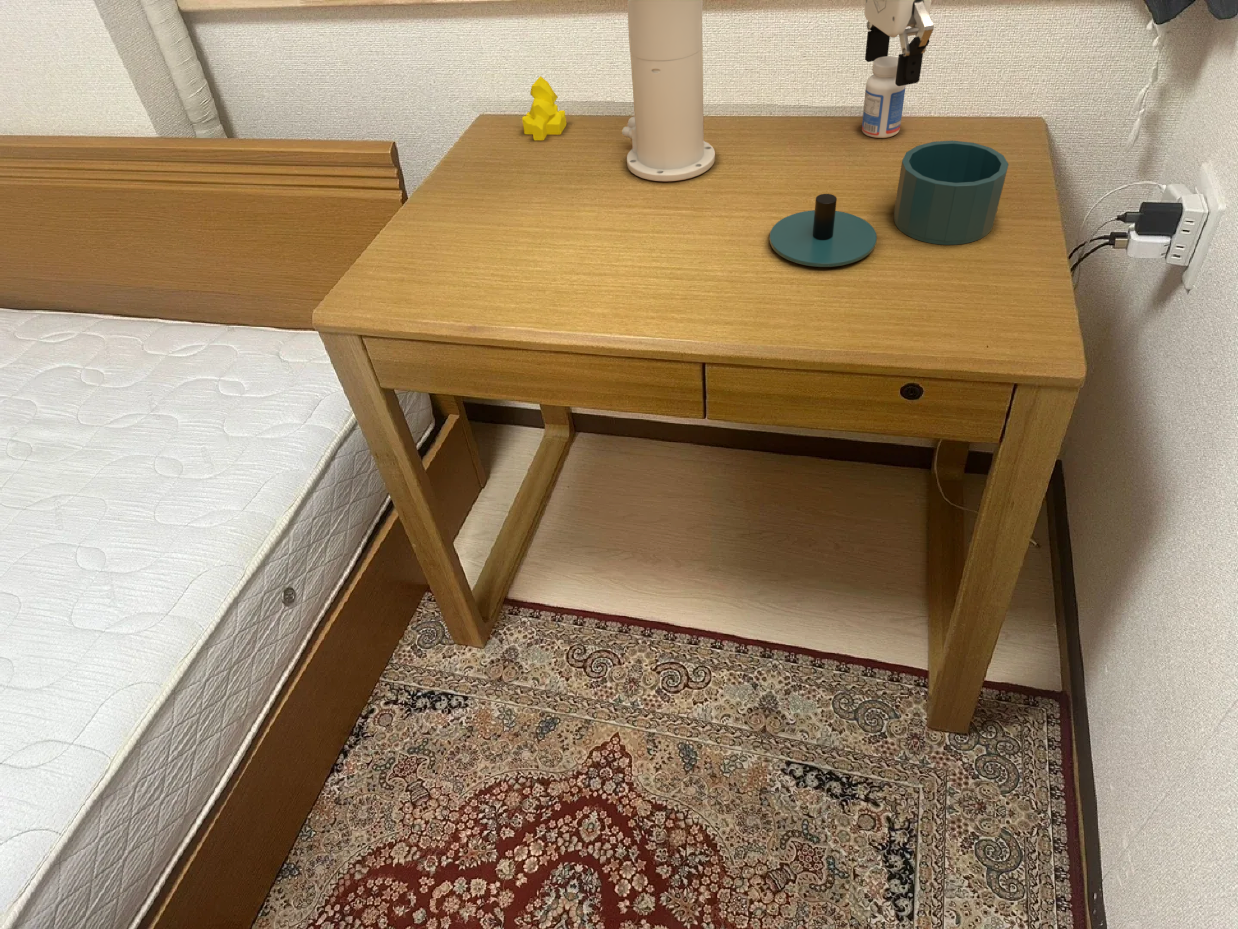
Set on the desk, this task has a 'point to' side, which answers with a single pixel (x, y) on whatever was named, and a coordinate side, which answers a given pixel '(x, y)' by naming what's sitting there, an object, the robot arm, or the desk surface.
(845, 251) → the lid
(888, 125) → the pill bottle
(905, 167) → the tin
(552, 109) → the yellow irregular lump
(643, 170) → the robot arm
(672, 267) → the desk surface
